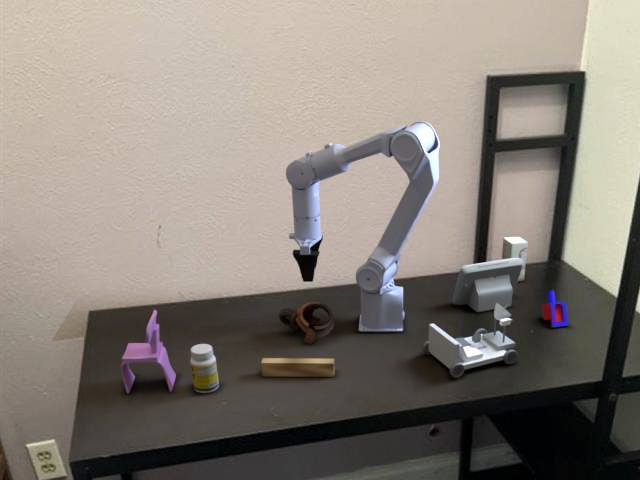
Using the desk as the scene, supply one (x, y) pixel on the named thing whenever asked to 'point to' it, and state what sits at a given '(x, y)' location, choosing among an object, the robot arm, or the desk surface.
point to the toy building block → (555, 311)
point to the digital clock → (487, 284)
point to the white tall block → (515, 251)
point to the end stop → (298, 367)
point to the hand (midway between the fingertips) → (309, 274)
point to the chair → (147, 355)
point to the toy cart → (472, 346)
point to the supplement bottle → (204, 368)
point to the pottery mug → (307, 320)
